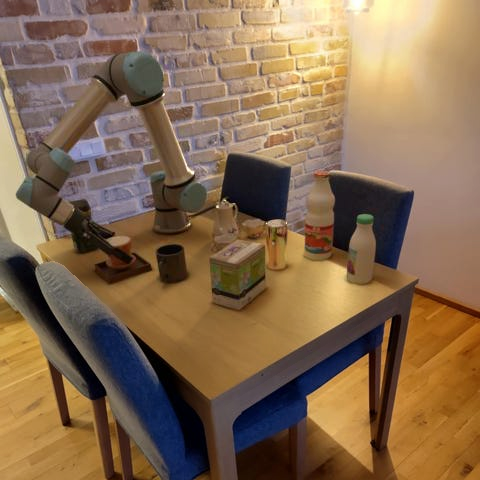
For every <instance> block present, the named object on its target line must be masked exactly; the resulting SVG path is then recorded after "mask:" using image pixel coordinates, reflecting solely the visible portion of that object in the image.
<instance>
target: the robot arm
mask: <svg viewBox="0 0 480 480" xmlns="http://www.w3.org/2000/svg"><path fill="white" fill-rule="evenodd" d="M164 82H165V73H164V69H163V67H162V64H161V62H159V60H158V59H157V58H156V57H155V56H153V55H152V54H150V53H148V52H144V51H139V50H135V51H129V52H127V51H126V52H123V51H122V52H117V53H115V54H113V55H111V56H110V57H109V58H108V59H107V60H106V61H105V62H104V63H103V64H102V65H101V67H99V69H98V70H97V71H96V72H95V74H94V75H93V76H92V77H91V78H90V85H89V87H88V88H87V89H86V90H85V91H84V93H83V94H82V95H81V96H80V97H79V99H78V100H77V101H76V102H75V103H74V104H73V106H71V108H70V109H69V110H68V111H67V113H66V114H65V115H64V116H63V117H62V118H61V120H60V121H59V122H58V123H57V125H56V126H55V127H54V128H53V129H52V130H51V132H50V133H49V134H48V135H47V136H46V138H44V140H43V142H41V144H39V146H38V147H37V148H35V149H32V150H30V151H29V152H27V154H26V155H25V164H26V167H27V168H28V169H29V171H31V172H32V173H33V174H35V176H34V177H30V176H26V177H25V178H24V179H23V181H22V183H21V184H20V185H19V187H18V189H17V190H16V192H15V198H16V199H17V200H18V201H19V202H21V203H23V204H24V205H26V207H28V208H30V209H33V210H34V211H35V212H37V213H38V214H40V215H42V216H44V217H45V218H47V219H49V220H50V221H51V223H53V224H54V223H55V224H57V225H59V226H61V227H63V229H65V230H66V231H68V232H70V234H71V233H75V232H76V231H77V230H79V231H80V232H81V233H82V234H83V235H82V237H83V238H84V239H86V240H88V241H89V242H91V243H92V244H93V245H95V246H96V247H97V249H99V250H100V251H101V252H103V253H104V254H106V255H107V257H108V256H110V255H111V254H112V255H113V256H115V257H116V258H118V259H120V260H121V261H123V262H125V263H126V264H129V263H130V262H131V261H132V259H133V257H131V256H129V255H128V254H126V253H125V252H123V251H122V250H120V249H118V248H117V247H113V246H112V245H111V244H110V243H109V242H108V241H106V239H108V238H111V237H115V236H116V232H115V231H112V230H110V229H108V228H107V227H105V226H103V225H102V224H99V223H97V222H95V221H94V220H91V219H92V218H91V219H89V218H86V219H85V217H86V214H85V213H84V212H83V211H81V210H80V209H78V208H74V205H72V204H70V203H69V202H70V201H67V200H66V199H64V198H62V197H61V196H59V195H58V194H59V193H60V191H61V190H62V188H63V186H64V185H65V184H66V183H67V181H68V179H69V177H70V176H71V174H72V173H73V172H74V169H75V167H76V165H77V161H76V159H74V158H73V156H71V155H70V152H71V151H72V149H73V148H74V147H75V146H76V145H77V143H79V141H80V140H81V139H82V138H83V137H84V135H85V134H86V133H87V132H88V131H89V129H91V127H92V126H93V125H94V123H95V122H96V121H97V120H98V119H99V118H100V116H101V115H102V114H103V112H105V111H106V109H107V108H108V107H109V105H110V104H116V103H117V101H118V100H119V99H120V98H122V97H123V96H125V95H126V98H127V101H128V103H129V105H130V107H131V108H133V109H136V111H138V114H139V116H140V118H141V121H142V124H143V126H144V128H145V130H146V133H147V135H148V137H149V140H150V142H151V144H152V147H153V149H154V151H155V153H156V156H157V159H158V161H159V163H160V165H161V168H162V170H159V171H155V172H153V173H151V174H150V176H149V180H150V188H151V193H152V198H153V205H154V219H153V231H154V232H155V233H157V234H159V235H177V234H180V233H183V232H186V231H188V230H189V229H190V228H191V227H192V226H191V220H190V218H192V217H196V216H199V215H200V214H203V213H204V212H206V211H209V210H211V209H213V208H216V205H218V204H220V203H221V202H219V203H217V204H214V205H212V206H209V207H206V208H204V209H202V208H203V207H204V206H205V204H206V201H207V197H208V190H207V188H206V186H205V185H204V184H203V182H201V181H198V179H197V176H196V173H195V171H194V169H192V168H190V167H188V164H187V162H186V159H185V157H184V154H183V151H182V147H181V145H180V144H179V140H178V138H177V135H176V133H175V129H174V128H173V125H172V122H171V120H170V117H169V114H168V112H167V109H166V106H165V104H164V101H163V99H164V98H165V90H164ZM224 198H225V200H226V201H227V200H230V197H229V196H225V197H224ZM201 209H202V210H201ZM188 213H189V214H188ZM108 249H109V250H108Z"/></svg>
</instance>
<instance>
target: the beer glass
mask: <svg viewBox="0 0 480 480" xmlns="http://www.w3.org/2000/svg"><path fill="white" fill-rule="evenodd" d="M288 234H289V233H288V222H287V221H286V220H284V219H271V220H268V221H266V222H265V242H266V247H267V252H268V262H267V267H268V268H269V269H270V270H272V271H273V270H274V271H279V270H280V271H281V270H283V269H285V268H286V267H287V262H286V251H287V246H288V237H289V236H288Z"/></svg>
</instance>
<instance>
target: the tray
mask: <svg viewBox="0 0 480 480" xmlns="http://www.w3.org/2000/svg"><path fill="white" fill-rule="evenodd" d="M131 255H134V256H135V257H136V262H135V263H134V264H132V265H130V266H129V267H128V268H125V269H115V268H110V267H108V266H107V265H106V261H107V260H103V261H101V262H97V263H94V264H93V266H94V270H95V272H97V274H98V275H100V277H102V278H103V279H104V280H105V281H106V282H107V283H108V284H109V285H112V284H114V283H117V282H120V281H124V280H126V279H129V278H132V277H135V276H138V275H141V274H144V273H147V272H150V271H152V269H153V268H152V264H151V263H152V262H149V261H148V260H147V259H145V258H144V257H143V256H141V255H140V254H138V253H137V252H136V251H133V252H131Z"/></svg>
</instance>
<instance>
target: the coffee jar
mask: <svg viewBox="0 0 480 480" xmlns="http://www.w3.org/2000/svg"><path fill="white" fill-rule="evenodd" d="M68 202H69V203H70V204H72V205H74V208H78V209H80V210H81V211H83V212H84V213H85V214H86V217H85V219H86V218H89V219H91V220H92V208H91V206H90V204H89V201H88V200H87V199H85V198H81V199H77V200H72V201H68ZM92 221H93V220H92ZM70 235H71V240H72V245H73V248H74V251H75V252H77V253H86V252H91V251H94V250H97V249H98V248H97V247H96V246H95V245H93V244H92V243H91V242H89V241H88V240H86V239H84V238H83V237H82V235H83V234H82V233H81V232H80V231H79V230H77V231H76V232H75V233H71V232H70Z"/></svg>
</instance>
